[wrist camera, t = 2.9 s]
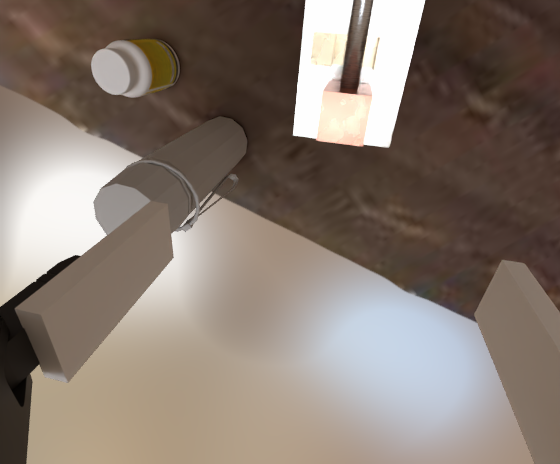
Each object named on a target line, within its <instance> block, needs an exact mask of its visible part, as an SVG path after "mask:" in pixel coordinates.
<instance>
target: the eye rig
mask: <svg viewBox="0 0 560 464" xmlns="http://www.w3.org/2000/svg"><path fill="white" fill-rule="evenodd" d="M424 3H425V0H374V3H373V8H372V14H371V19H370V25H369V30H368V36H367V42H366V47H365V53H364V58H363V64H362V69H361V75H360V80H359V84H368V85H371V89H372V93H373V100H372V104H371V109H370V114H369V119H368V124H367V129H366V134H365V139H364V145H372V146H379V147H387V148H389V146H390V142H391V137H392V133H393V129H394V125H395V121H396V117H397V113H398V109H399V105H400V101H401V97H402V93H403V89H404V84H405V80H406V76H407V72H408V68H409V64H410V60H411V56H412V52H413V48H414V44H415V40H416V36H417V32H418V27H419V23H420V19H421V15H422V11H423V7H424ZM352 4H353V0H306V4H305V14H304V25H303V35H302V46H301V57H300V67H299V78H298V89H297V99H296V110H295V120H294V131H293V135H295V136H303V137H310V138H317V130H318V122H319V115H320V107H321V99H322V92H323V89H324V88H325V86H326V85H327V83H328V82H329V80H331V81H340V82H341V76H342V69H343V63H344V56H345V50H346V43H347V37H348V30H349V24H350V17H351V11H352Z"/></svg>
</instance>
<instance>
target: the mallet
mask: <svg viewBox="0 0 560 464" xmlns="http://www.w3.org/2000/svg"><path fill="white" fill-rule="evenodd" d="M373 3H374V0H353V4H352V11H351V17H350V24H349V30H348V37H347V43H346V50H345V56H344V63H343V69H342V76H341V82H340V81H331V80H329V82H328V83H327V85H326V86H325V88H324V89H323V92H322V99H321V107H320V115H319V122H318V130H317V138H316V140H317V141H325V142H332V143H340V144H348V145H355V146H363V144H364V139H365V134H366V129H367V124H368V119H369V114H370V109H371V104H372V100H373V93H372V89H371V85H368V84H359V80H360V75H361V69H362V64H363V58H364V53H365V47H366V42H367V36H368V30H369V25H370V19H371V14H372V8H373Z"/></svg>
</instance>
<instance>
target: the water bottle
mask: <svg viewBox="0 0 560 464" xmlns="http://www.w3.org/2000/svg"><path fill="white" fill-rule="evenodd" d="M246 149H247V138H246V136H245V133H244V130H243V128H242V127H241V126H240V125H238V124H237V123H236V122H235V121H234V120H233V119H230V118H225V117H221V116H219V117H217V118H214V119H211V120H209V121H207V122H205V123H204V124H202V125H200V126H198V127H197V128H195V129H193V130H191V131H190V132H188V133H186V134H184V135H183V136H181V137H179V138H177V139H176V140H174V141H172V142H170V143H169V144H167V145H165V146H163V147H162V148H160V149H158V150H156V151H155V152H153V153H151V154H150V155H148V156H146V157H144V158H143V159H141V160H139V161H137V162H134V163H132V164H131V165H129V166H127V167H126V169H125V170H123V171H122V172H121V173H120V174H118V175H117V176H116V177H115V178H113V179H112V180H111V181H110V182H108V183H107V184H106V185H105V186H103V187H102V188H101V189H100V191H99V193H98V195H97V196H96V198H95V200H94V208H95V215H96V219H97V221H98V222H99V224H100V225H101V227H102V228H103V230H104V231H105V233H106V234H107V235H108V234H110V233H111V232H112V231H113V230H115V229H116V228H117V227H119V226H120V225H121V224H122V223H124V222H125V221H126V220H127V219H129V218H130V217H131V216H132V215H134V214H135V213H136V212H138V211H139V210H140V209H141V208H143V207H144V206H145V205H146V204H148V203H149V202H150V201H154V202H160V203H166V204H168V210H169V220H170V229H171V233H173V232H174V231H181V230H184V231H185V232H186V231H187V230H188V229H190V228H192V226H193V224H194V223H195V222H196V221H197V218H198V216H199V215H201V214H202V213H203V212H205V211H206V210H207V209H209V208H210V207H211V206H213V205H214V204H215V203H216V202H218V201H219V200H220V199H222V198H223V197H224V196H226V195H227V194H228V193H230V192H231V191H232V190H233V189H235V187H236V185H237V184H238V180H239V179H238V178H237V176H236V175H235V174H229V175H228V176H226V175H227V174H228V173H229V172H230V171H231V170H232V169H233V167H234V166H235V165H236V164H237V163H238V162H239V161H240V160H241V159H242V157H243V156H244V155H245V154H246ZM225 176H226V177H225ZM224 177H225V178H224ZM223 178H224V179H223ZM228 178H231V179H232V180H233V181H234V183H233V186H232V188H231V189H230V191H228V192H227V193H226V194H224V195H223V196H222V197H221V198H219V199H218V200H217V201H216V202H214V203H213V204H212V205H210V206H209V207H208V208H207V209H205V210H204V211H203V212H202V213H200V214H199V212H200V211H201V210H202V208H203V207H204V206H205V205H206V203H207V202H208V201H209V200H210V199H211V198H212V196H213V195H214V194H215V193H216V192H217V190H218V189H219V188H220V187H221V186H222V185H223V183H224V182H225V181H226V180H227V179H228ZM222 179H223V180H222ZM221 180H222V182H221V183H220V184H219V185H218V186H217V188H216V189H215V190H214V191H213V193H212V194H211V195H210V196H209V197H208V199H207V200H206V201H205V202H204V204H203V205H202V206H201V207H200V206H199V203H200V202H201V201H202V200H203V199H204V198H205V197H206V196H207V195H208V194H209V193H210V192H211V191H212V190H213V189H214V188H215V187H216V185H217V184H218V183H219V182H220V181H221ZM195 208H196V213H195V215H194V216H193V217H192V218H191V219H189V220H187V222H186V223H185V224H184V225H183V226H182V227H180V225H181V224H182V223H183V221H184V220H185V219H186V218H187V216H188V215H189V214H190V213H191V212H192V211H193V210H194V209H195Z"/></svg>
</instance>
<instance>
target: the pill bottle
mask: <svg viewBox="0 0 560 464" xmlns="http://www.w3.org/2000/svg"><path fill="white" fill-rule="evenodd" d="M91 68H92V73H93V76H94V78H95V80H96V82H97V83H98V85H99V86H100V87H101V88H102V89H103V90H105V91H106V92H108V93H110V94H113V95H120V94H121V95H124V96H126V97H140V96H144V95H147V94H150V93H154V92H157V91H161V90H164V89H167V88H169V87H171V86H173V85H174V84H175V83H176V81H177V80H178V77H179V74H180V65H179V60H178V57H177V55H176V53H175V52H174V50H173V49H172V48H171V47H170V46H169V45H168V44H167V43H165V42H164V41H161V40H158V39H133V40H118V41H114V42H112V43H110V44H109V45H108V46H107V47H106V48H105V49H101V50H99V51H97V52H96V53H95V54H94V56H93V58H92V63H91Z"/></svg>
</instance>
